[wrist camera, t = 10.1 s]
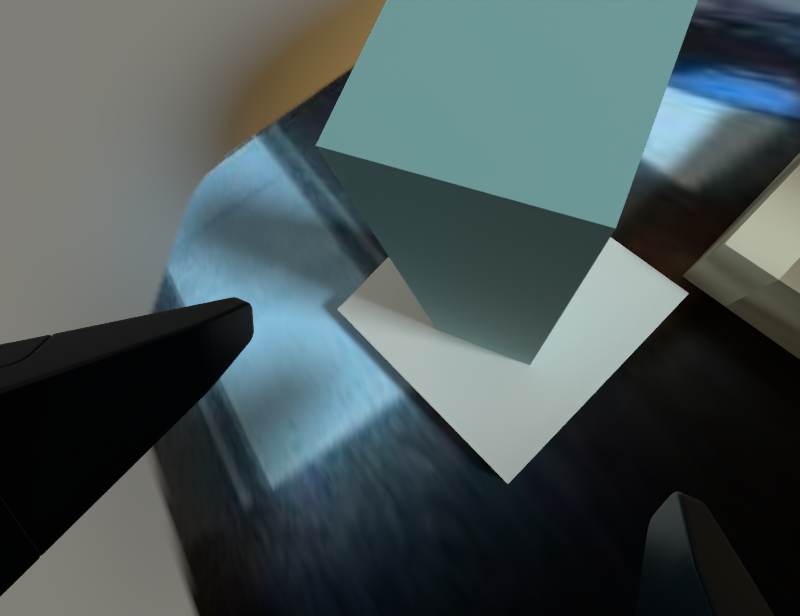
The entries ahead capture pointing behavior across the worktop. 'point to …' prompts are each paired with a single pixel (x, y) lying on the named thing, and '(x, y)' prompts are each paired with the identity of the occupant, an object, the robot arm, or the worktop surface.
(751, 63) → the worktop surface
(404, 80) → the post
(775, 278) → the socket block
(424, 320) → the pad
